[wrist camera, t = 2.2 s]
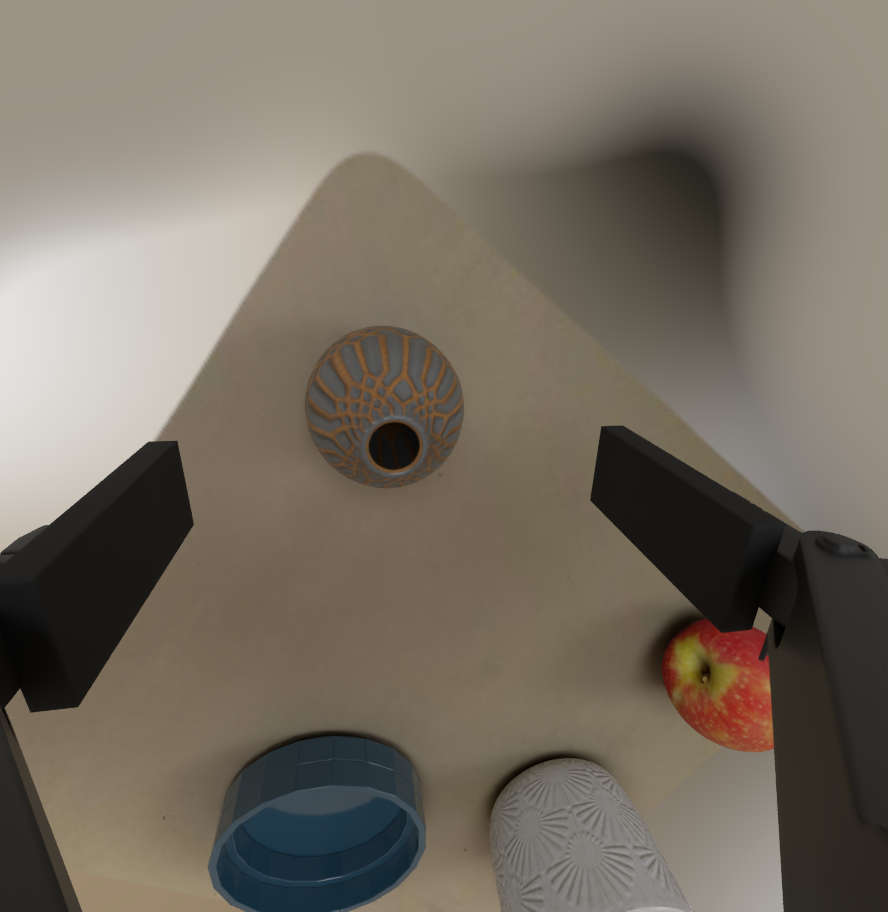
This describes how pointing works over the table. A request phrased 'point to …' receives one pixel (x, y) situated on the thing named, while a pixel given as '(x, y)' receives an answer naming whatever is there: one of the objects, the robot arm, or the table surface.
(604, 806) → the planter
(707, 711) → the apple
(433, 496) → the table surface
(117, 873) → the table surface
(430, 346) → the vase
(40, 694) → the robot arm
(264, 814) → the bowl
